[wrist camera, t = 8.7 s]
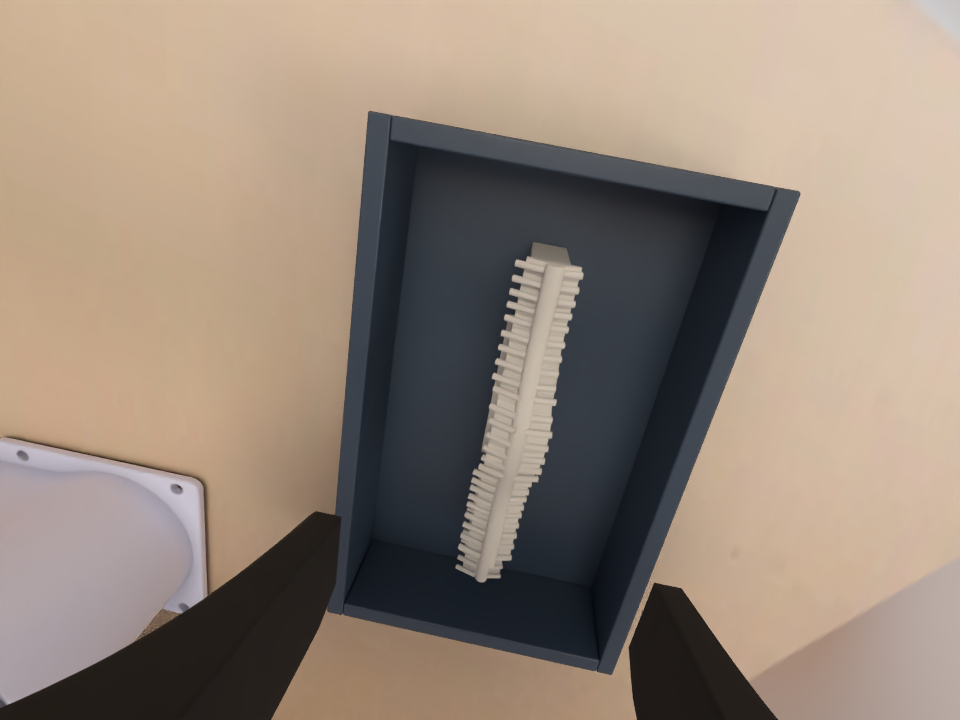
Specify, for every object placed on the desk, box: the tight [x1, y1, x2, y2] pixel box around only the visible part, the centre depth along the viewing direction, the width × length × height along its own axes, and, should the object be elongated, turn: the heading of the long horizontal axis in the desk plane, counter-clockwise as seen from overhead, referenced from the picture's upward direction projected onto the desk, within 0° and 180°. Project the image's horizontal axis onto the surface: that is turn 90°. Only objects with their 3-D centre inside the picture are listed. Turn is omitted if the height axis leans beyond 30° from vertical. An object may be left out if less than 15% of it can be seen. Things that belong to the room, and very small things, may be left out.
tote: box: [327, 111, 800, 675], centre depth 18 cm, size 11×17×4 cm, turn 170°
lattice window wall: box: [455, 242, 583, 582], centre depth 17 cm, size 12×2×6 cm, turn 170°
